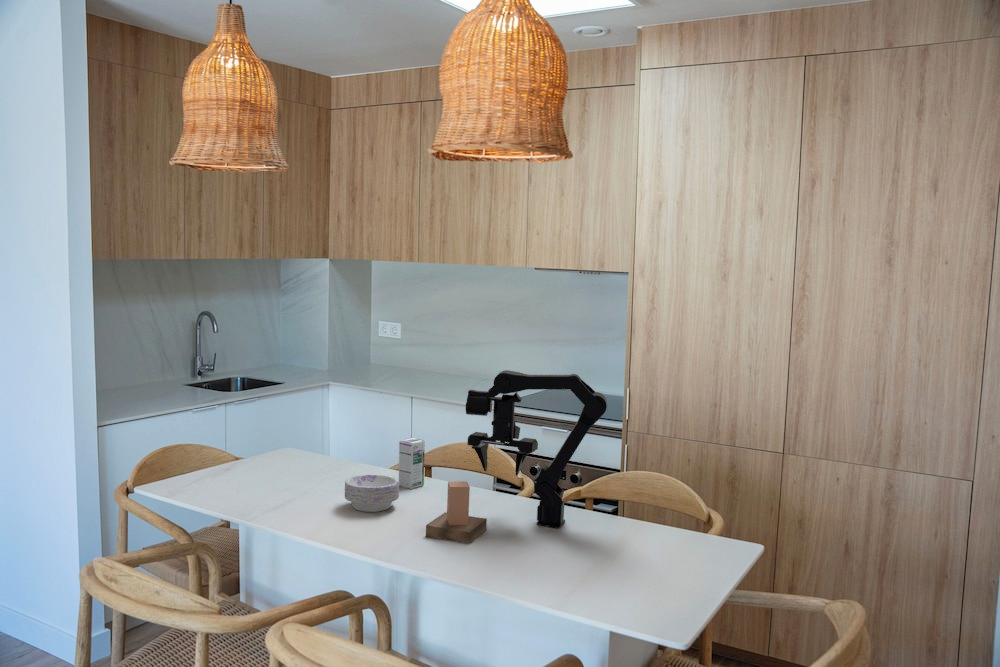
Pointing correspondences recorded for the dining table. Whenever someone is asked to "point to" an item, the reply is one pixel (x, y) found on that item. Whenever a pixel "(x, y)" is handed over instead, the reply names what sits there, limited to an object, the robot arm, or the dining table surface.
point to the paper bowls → (371, 492)
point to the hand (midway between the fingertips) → (501, 473)
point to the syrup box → (411, 463)
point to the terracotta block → (458, 503)
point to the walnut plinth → (456, 529)
